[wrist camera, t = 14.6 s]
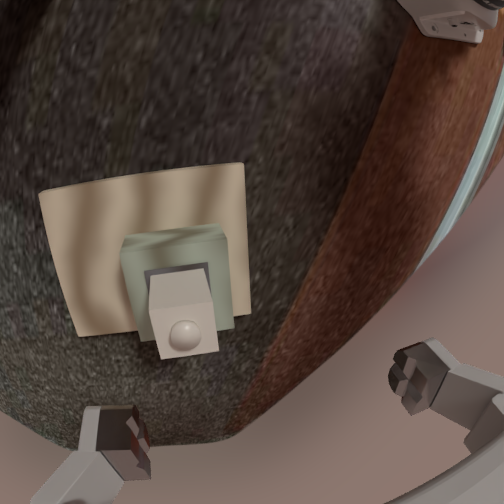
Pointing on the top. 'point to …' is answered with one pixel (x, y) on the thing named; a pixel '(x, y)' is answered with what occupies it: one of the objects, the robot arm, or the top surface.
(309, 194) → the top surface
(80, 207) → the display stand
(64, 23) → the top surface
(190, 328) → the building block
